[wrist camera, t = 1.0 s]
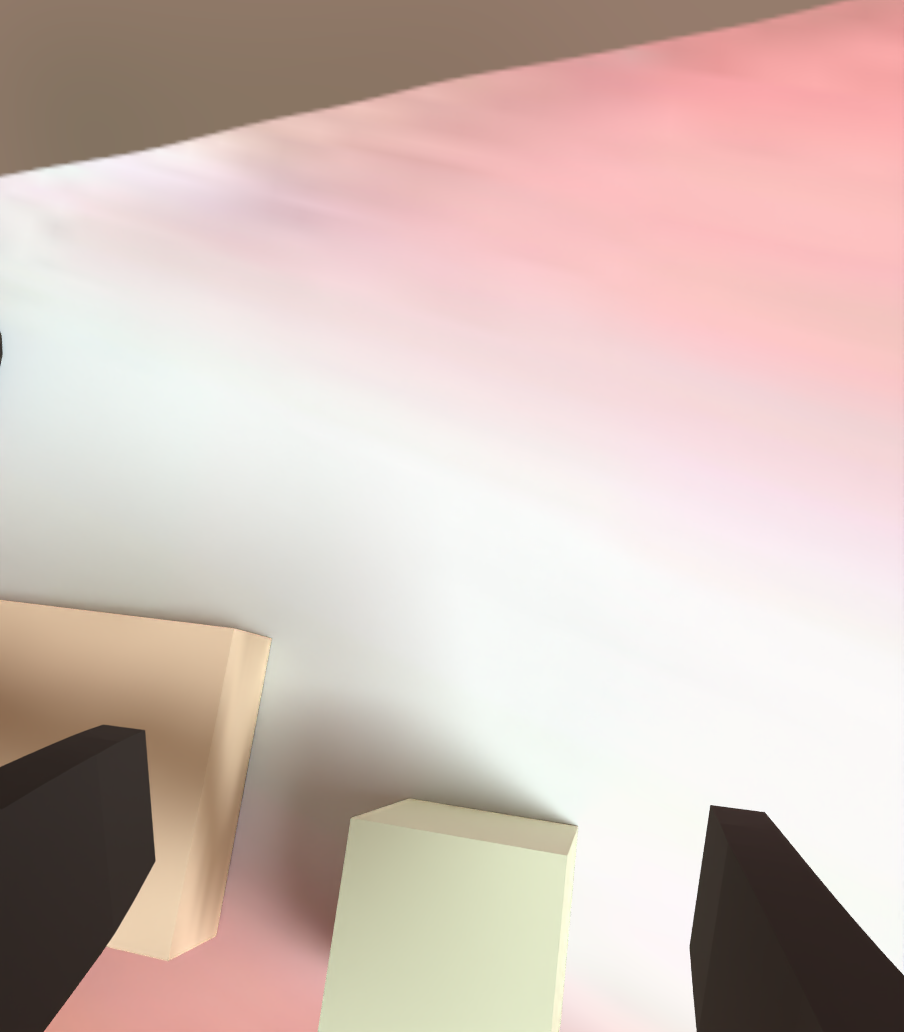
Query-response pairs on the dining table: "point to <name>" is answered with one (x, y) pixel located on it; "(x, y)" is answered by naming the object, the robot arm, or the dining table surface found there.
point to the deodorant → (0, 348)
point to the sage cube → (450, 922)
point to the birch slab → (169, 739)
